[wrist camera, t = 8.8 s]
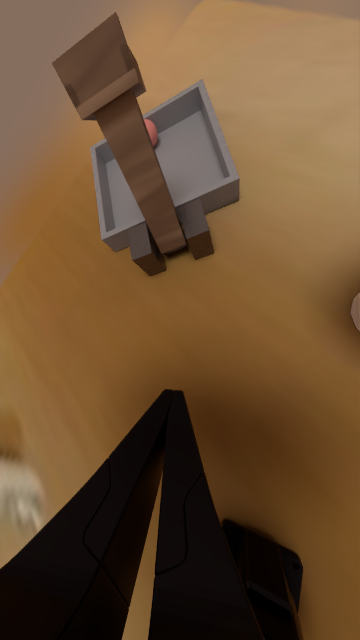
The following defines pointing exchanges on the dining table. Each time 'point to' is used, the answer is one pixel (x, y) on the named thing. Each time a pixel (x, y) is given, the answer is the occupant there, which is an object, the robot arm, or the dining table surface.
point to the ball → (151, 131)
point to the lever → (121, 121)
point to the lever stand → (148, 250)
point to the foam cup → (356, 311)
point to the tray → (170, 165)
